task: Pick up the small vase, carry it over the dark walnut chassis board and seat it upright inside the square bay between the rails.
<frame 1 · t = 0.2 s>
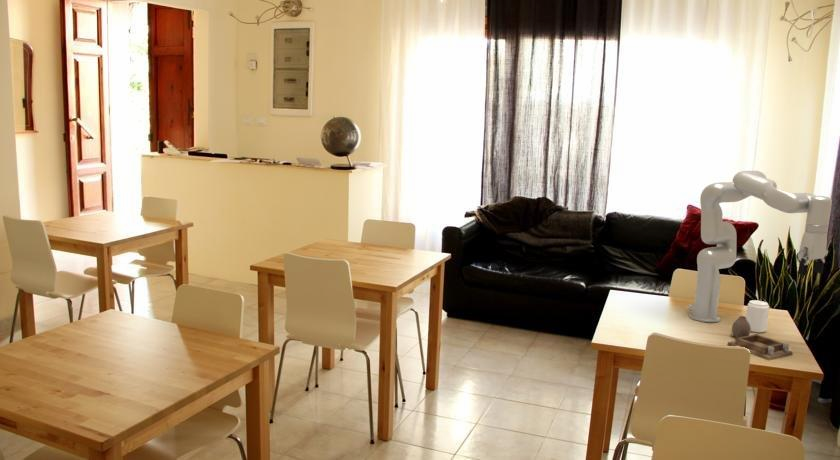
hand: (810, 273, 275), 31 cm above the table, tool pointing down, fingers open, 9 cm apart
chassis: (759, 349, 280), on the table
vase: (740, 338, 294), on the table
beverage can: (755, 330, 305), on the table
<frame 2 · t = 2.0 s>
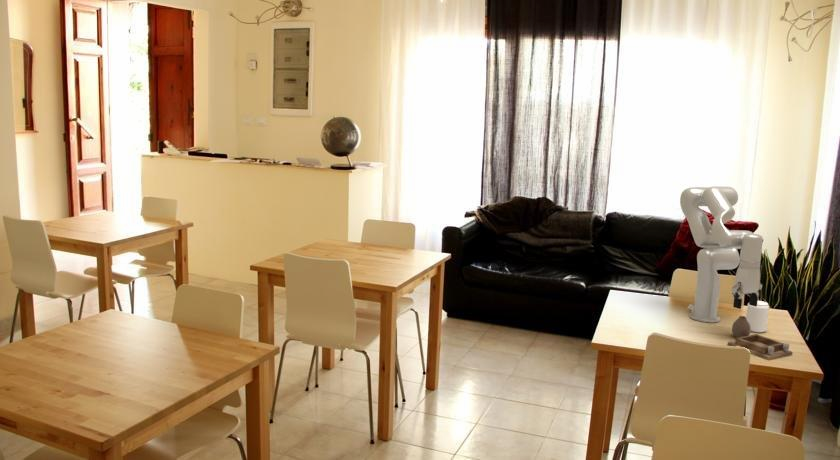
hand: (745, 306, 291), 13 cm above the table, tool pointing down, fingers open, 9 cm apart
nothing on the table moved.
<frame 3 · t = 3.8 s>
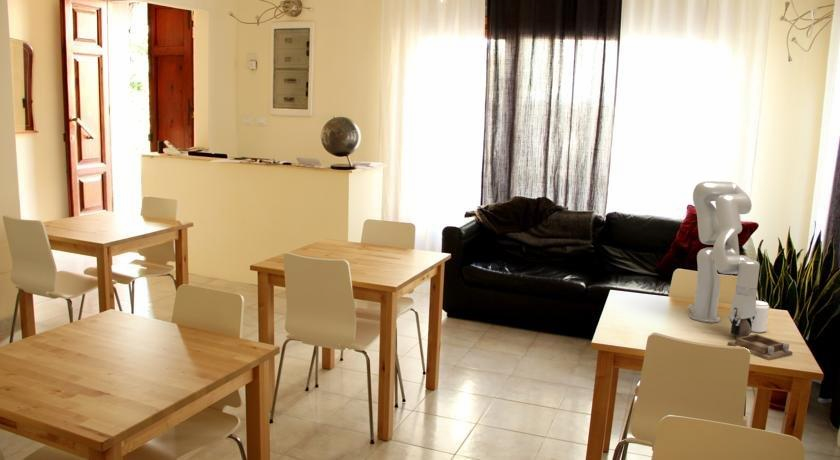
hand: (740, 332, 294), 2 cm above the table, tool pointing down, fingers closed on vase, 6 cm apart
vase: (740, 338, 294), on the table, touching gripper
everything else where it was.
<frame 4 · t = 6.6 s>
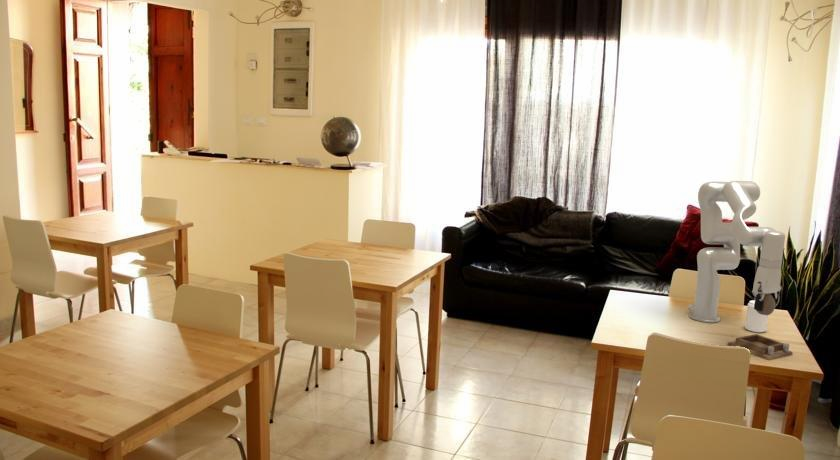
hand: (764, 308, 277), 16 cm above the table, tool pointing down, fingers closed on vase, 6 cm apart
vase: (763, 314, 277), point 14 cm above the table, touching gripper
everything else where it was.
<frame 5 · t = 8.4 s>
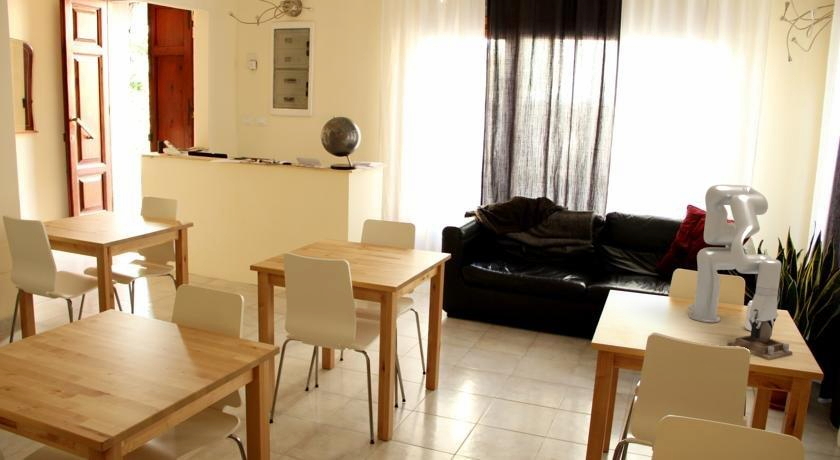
hand: (761, 335, 279), 6 cm above the table, tool pointing down, fingers closed on vase, 6 cm apart
vase: (760, 341, 279), point 3 cm above the table, touching gripper
everything else where it was.
when the fingers open (5 cm above the table, at t = 9.6 s): vase drops 1 cm, resting on chassis.
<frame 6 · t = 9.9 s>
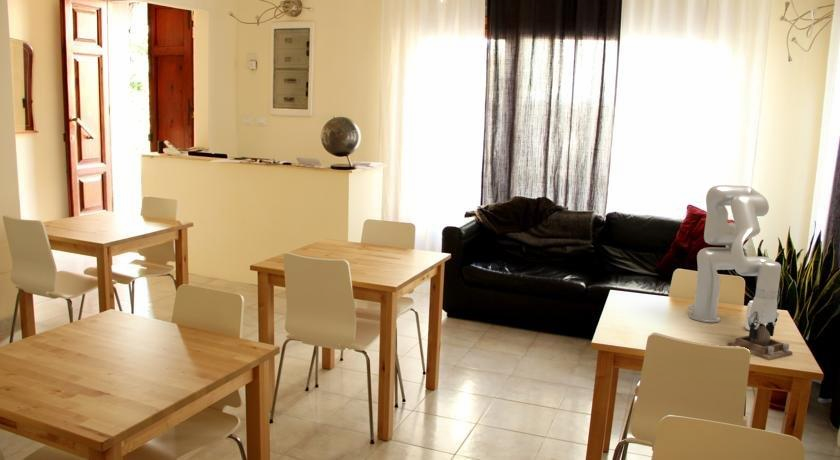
hand: (760, 336, 279), 5 cm above the table, tool pointing down, fingers open, 9 cm apart
vase: (759, 346, 280), point 1 cm above the table, touching chassis
everything else where it was.
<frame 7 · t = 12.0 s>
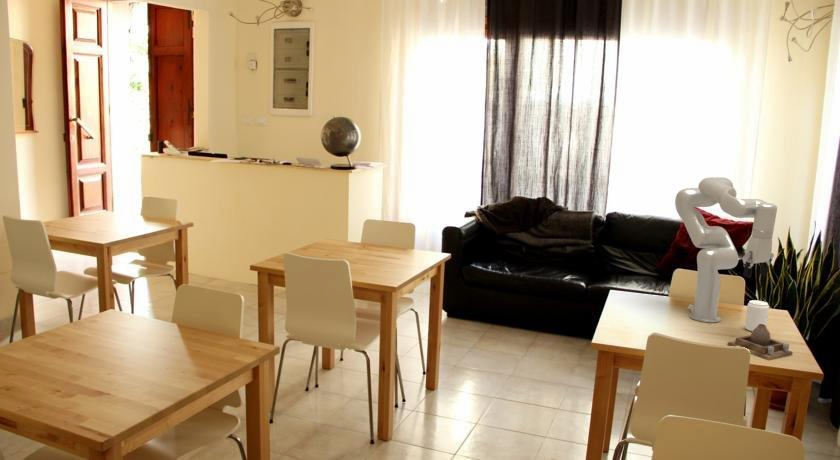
hand: (755, 275, 290), 26 cm above the table, tool pointing down, fingers open, 9 cm apart
nothing on the table moved.
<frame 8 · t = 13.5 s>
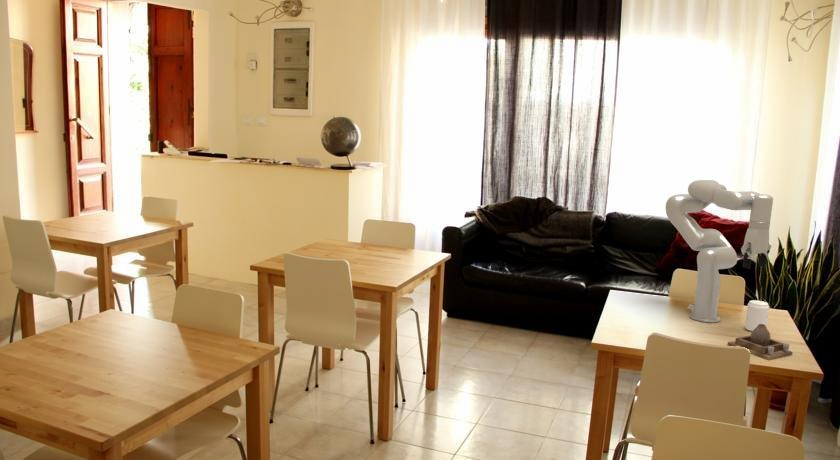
hand: (753, 267, 294), 28 cm above the table, tool pointing down, fingers open, 9 cm apart
nothing on the table moved.
at the end: vase 0.2 cm off-centre on the chassis, point 1.0 cm above the chassis's base; vase tilted 0°; the gripper is holding nothing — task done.
